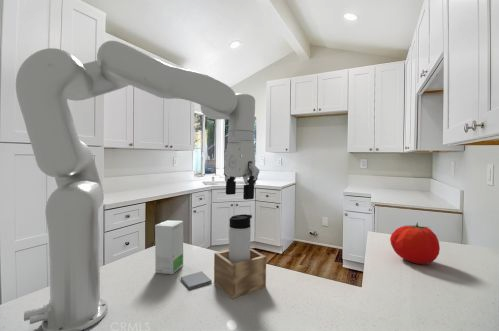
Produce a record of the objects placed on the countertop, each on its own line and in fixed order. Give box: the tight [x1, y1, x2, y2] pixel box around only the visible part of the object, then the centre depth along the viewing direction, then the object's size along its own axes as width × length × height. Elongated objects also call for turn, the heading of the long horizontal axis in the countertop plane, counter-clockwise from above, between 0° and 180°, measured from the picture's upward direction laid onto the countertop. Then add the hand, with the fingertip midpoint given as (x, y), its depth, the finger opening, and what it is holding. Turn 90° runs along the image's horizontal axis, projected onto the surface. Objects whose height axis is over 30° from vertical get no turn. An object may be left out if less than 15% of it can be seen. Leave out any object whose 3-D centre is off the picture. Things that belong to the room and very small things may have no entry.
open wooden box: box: [213, 247, 267, 299], centre depth 75 cm, size 12×10×9 cm
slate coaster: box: [180, 271, 212, 290], centre depth 77 cm, size 7×7×1 cm
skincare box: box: [154, 219, 184, 275], centre depth 85 cm, size 8×7×16 cm
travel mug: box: [228, 214, 253, 263], centre depth 75 cm, size 6×7×20 cm
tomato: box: [389, 222, 441, 265], centre depth 94 cm, size 16×14×14 cm
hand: (239, 196), depth 74 cm, fingers open, 9 cm apart
